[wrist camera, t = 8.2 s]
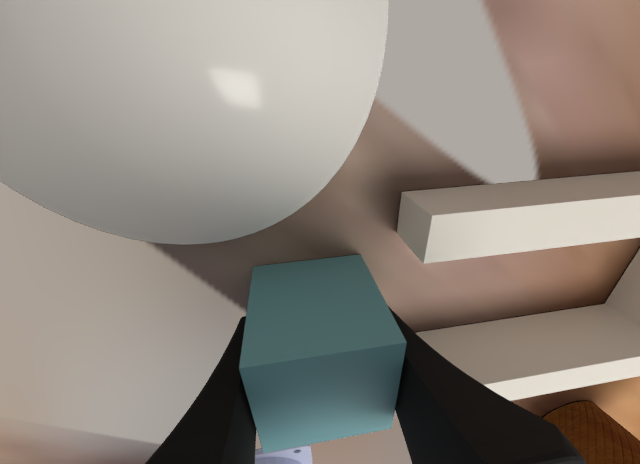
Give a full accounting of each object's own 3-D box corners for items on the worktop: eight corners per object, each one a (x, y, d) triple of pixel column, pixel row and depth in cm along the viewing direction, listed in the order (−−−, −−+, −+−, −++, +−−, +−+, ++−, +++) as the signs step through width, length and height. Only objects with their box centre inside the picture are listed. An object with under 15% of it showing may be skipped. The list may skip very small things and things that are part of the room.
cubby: (382, 359, 16) (406, 420, 13) (401, 191, 11) (449, 228, 8) (615, 321, 18) (684, 367, 15) (725, 163, 13) (864, 184, 10)
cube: (267, 341, 14) (263, 453, 10) (253, 266, 12) (238, 368, 7) (357, 328, 15) (391, 428, 10) (360, 254, 12) (406, 342, 8)
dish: (37, 248, 10) (14, 263, 9) (-451, -507, 4) (-671, -690, 3) (366, 216, 11) (373, 226, 10) (396, -368, 5) (421, -461, 4)
